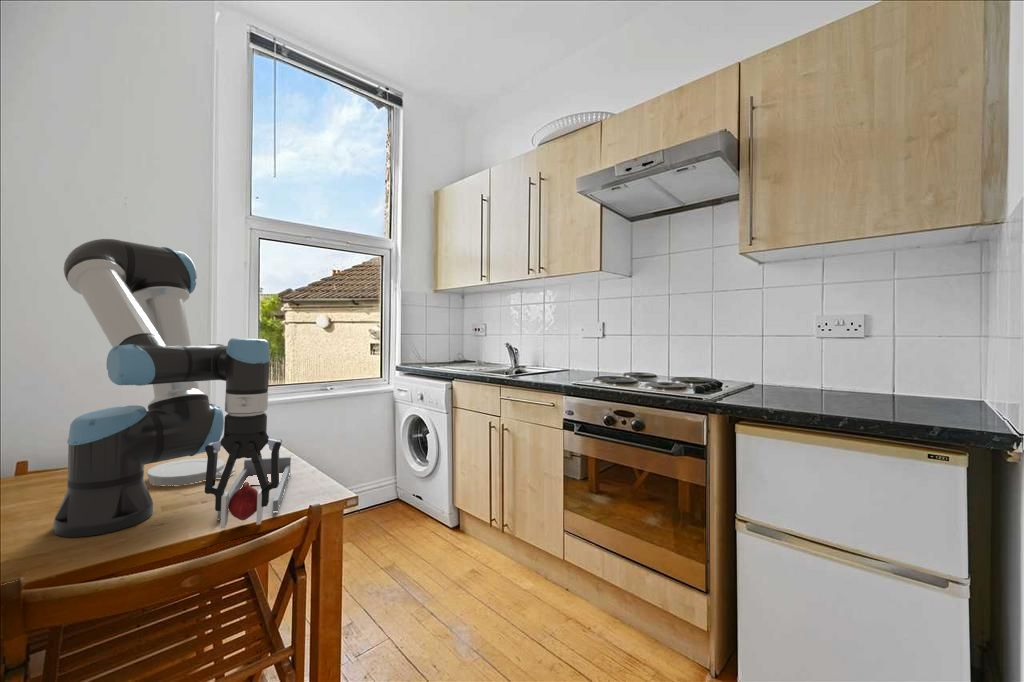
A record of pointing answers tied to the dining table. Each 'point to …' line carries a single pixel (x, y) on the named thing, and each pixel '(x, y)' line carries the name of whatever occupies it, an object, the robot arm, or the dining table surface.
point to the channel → (250, 471)
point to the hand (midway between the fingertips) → (241, 523)
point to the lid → (183, 472)
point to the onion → (243, 502)
